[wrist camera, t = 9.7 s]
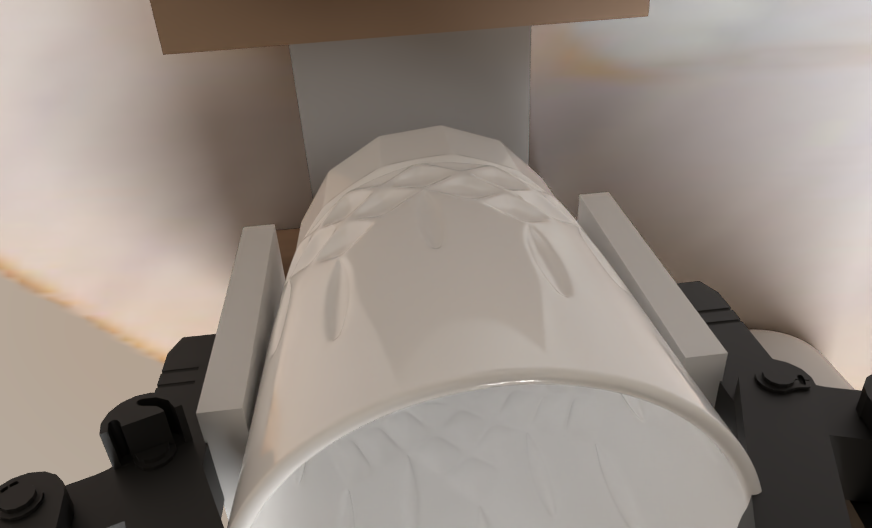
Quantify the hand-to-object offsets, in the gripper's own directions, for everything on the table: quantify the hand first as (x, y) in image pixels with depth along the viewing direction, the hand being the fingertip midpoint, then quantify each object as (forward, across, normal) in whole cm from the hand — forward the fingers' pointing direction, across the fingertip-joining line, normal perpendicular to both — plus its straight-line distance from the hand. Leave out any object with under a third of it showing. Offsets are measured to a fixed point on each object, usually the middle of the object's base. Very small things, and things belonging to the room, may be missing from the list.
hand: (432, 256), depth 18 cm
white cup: (+1, 0, 0) cm, 1 cm away
